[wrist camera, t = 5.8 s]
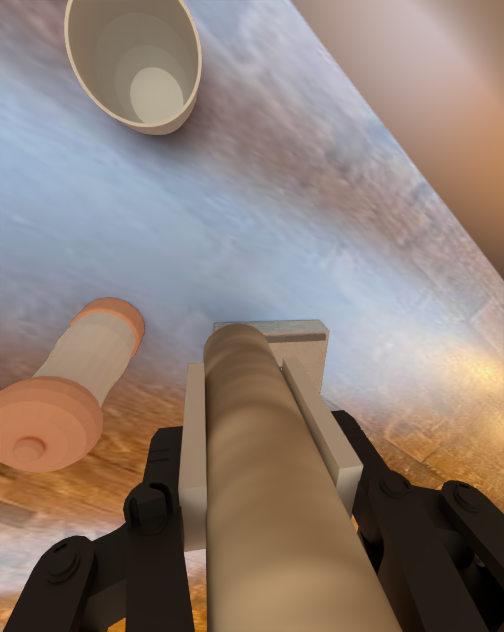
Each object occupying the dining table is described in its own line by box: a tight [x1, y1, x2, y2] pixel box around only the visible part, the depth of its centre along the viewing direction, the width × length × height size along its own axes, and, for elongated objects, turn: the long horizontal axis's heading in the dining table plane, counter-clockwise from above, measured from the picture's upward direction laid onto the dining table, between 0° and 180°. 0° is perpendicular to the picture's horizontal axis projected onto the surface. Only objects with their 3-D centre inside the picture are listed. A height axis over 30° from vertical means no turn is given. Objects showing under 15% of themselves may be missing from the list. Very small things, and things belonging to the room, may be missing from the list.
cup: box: [64, 0, 202, 135], centre depth 23 cm, size 8×8×10 cm
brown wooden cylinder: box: [203, 323, 403, 632], centre depth 11 cm, size 4×4×15 cm
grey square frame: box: [214, 320, 329, 393], centre depth 39 cm, size 14×16×4 cm
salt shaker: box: [0, 298, 145, 472], centre depth 26 cm, size 7×7×19 cm
